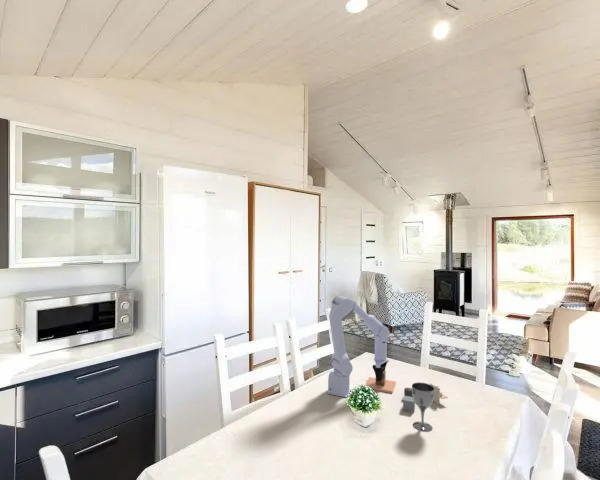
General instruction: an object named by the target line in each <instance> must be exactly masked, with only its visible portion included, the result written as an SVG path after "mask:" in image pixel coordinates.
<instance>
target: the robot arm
mask: <svg viewBox="0 0 600 480" xmlns="http://www.w3.org/2000/svg"><path fill="white" fill-rule="evenodd" d="M351 312H352V313H354V314H356V315H357V316H358V317H360V319H362V320H363V325H365V326H366V327H367V328H368V329H369V330H370V331H371V332H372V334H373V335H374V357H373V360H374V363H375V364H372V369H373V371H374V375H375V378H376V380H377V381H381V380H382V375H383V371H386V368H387V364H388V363H389V362H390V359H389V358H387V352H388V348H387V347H388V346H387V345H388V338H389V336H390V330H389V328H388V327H387V326H386V325H384V324H383V322H382V321H380V320H378V319H377V316H376V315H374V314H369V313H367V312H366V311H365V310H364V309H363V307H361V306H360V305H359V304H358V303H357V302H356V301H354V300H353V299H352V298H350V297H345V296H343V295H340V294H337V295H336V296H335V297H334V298H333V299H332V300H331V308H330V311H329V314H328V315H329V316H328V319H329V325H330V332H331V338H332V347H333V354H331V356H332V358H331V367H332V368H333V371H330V372H329V374H328V377H327V381H328V382H327V385H328V386H327V394H328V395H333V396H337V397H341V398H348V397H347V395H348V394H349V393H350V391H351V390H352V389H350V383H351V382H350V378H351V377H350V376H351V373H352V372H353V365H352V363H351V361H350V357H349V356H348V353H347V350H346V342H345V335H344V329H343V321H342V319H343V318H344V317H346V316H347V315H348V314H349V313H351ZM350 394H351V393H350Z"/></svg>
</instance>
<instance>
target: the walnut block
mask: <svg viewBox="0 0 600 480" xmlns="http://www.w3.org/2000/svg"><path fill="white" fill-rule="evenodd" d="M386 376H387V375H386V370H385V371H383V375H382V380H381V381H377V380H376V385H380V386H384V385H385V380H387V379H386Z"/></svg>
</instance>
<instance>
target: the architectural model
mask: <svg viewBox="0 0 600 480" xmlns="http://www.w3.org/2000/svg"><path fill="white" fill-rule="evenodd" d="M429 385H431V386H433V387H434V398H433V403H436V404H437V405H438V406H439V405H440V401H441V400H445V399H448V396H446V395H445V394H443V392H441V389H440V387H439V385H434V384H433V383H430V384H429Z"/></svg>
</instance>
